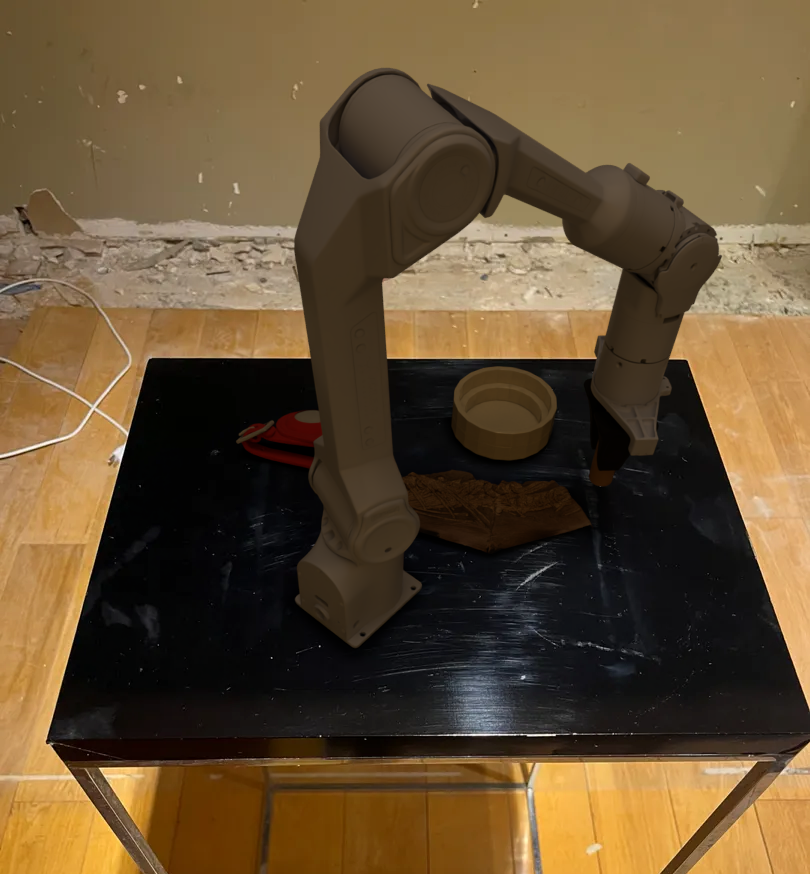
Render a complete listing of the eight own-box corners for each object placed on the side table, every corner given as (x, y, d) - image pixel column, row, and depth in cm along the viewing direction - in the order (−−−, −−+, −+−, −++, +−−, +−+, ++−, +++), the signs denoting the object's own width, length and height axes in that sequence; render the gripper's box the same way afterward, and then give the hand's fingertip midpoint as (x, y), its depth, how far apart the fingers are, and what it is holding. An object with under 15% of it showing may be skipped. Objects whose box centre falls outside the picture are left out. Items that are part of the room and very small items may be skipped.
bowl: (511, 479, 88) (516, 448, 85) (431, 431, 93) (433, 400, 89) (569, 427, 94) (576, 396, 91) (490, 384, 99) (495, 353, 95)
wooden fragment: (589, 486, 88) (591, 479, 87) (593, 567, 81) (595, 560, 80) (349, 464, 89) (349, 457, 88) (332, 542, 82) (332, 535, 81)
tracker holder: (318, 394, 95) (375, 421, 88) (319, 430, 97) (374, 458, 91) (226, 419, 87) (281, 450, 81) (230, 457, 90) (283, 490, 83)
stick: (604, 490, 82) (624, 422, 75) (583, 478, 83) (602, 410, 76) (616, 477, 83) (638, 409, 76) (596, 466, 84) (615, 397, 77)
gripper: (709, 397, 66) (664, 510, 77) (661, 293, 75) (626, 407, 86) (623, 399, 66) (590, 513, 76) (585, 295, 75) (560, 409, 85)
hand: (604, 457), depth 81 cm, fingers closed on stick, 2 cm apart
